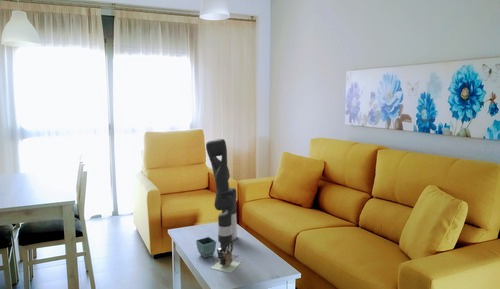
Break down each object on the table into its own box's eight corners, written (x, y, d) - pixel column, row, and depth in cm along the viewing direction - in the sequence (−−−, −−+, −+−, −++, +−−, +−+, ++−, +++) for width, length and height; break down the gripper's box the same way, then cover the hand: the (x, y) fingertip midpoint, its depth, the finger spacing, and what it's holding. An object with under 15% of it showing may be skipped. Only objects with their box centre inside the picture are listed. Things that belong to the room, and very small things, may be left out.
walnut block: (224, 260, 209) (223, 250, 208) (232, 262, 206) (231, 252, 206) (219, 264, 204) (219, 253, 203) (227, 266, 202) (227, 255, 201)
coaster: (221, 259, 213) (221, 259, 213) (240, 263, 208) (240, 263, 208) (210, 268, 203) (210, 268, 203) (230, 273, 197) (230, 272, 197)
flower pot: (203, 260, 213) (203, 245, 212) (196, 254, 220) (195, 240, 219) (216, 256, 218) (216, 241, 217) (209, 251, 225) (208, 236, 224)
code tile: (222, 252, 222) (222, 252, 222) (237, 255, 218) (237, 255, 218) (213, 259, 213) (213, 259, 213) (229, 263, 209) (229, 262, 209)
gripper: (225, 227, 211) (226, 256, 213) (212, 236, 198) (213, 267, 200) (237, 229, 208) (238, 258, 210) (224, 238, 195) (225, 269, 197)
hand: (225, 262), depth 205 cm, fingers closed on walnut block, 5 cm apart
